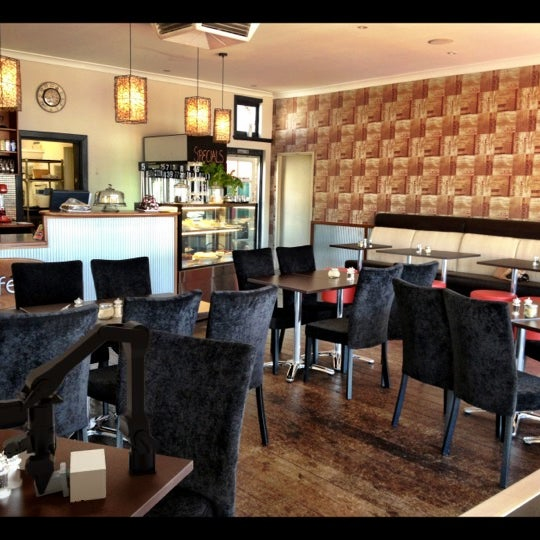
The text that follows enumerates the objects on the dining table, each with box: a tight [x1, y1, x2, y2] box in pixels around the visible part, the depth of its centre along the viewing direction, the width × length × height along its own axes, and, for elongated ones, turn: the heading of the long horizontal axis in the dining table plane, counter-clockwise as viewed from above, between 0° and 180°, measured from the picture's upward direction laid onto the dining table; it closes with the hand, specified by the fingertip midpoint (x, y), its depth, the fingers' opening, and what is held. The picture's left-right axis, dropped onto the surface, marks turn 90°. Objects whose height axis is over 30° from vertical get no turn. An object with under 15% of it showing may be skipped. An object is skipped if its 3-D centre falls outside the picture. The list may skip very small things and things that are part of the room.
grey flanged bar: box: [33, 461, 70, 498], centre depth 141 cm, size 13×6×6 cm, turn 108°
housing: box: [69, 448, 107, 503], centre depth 142 cm, size 8×12×7 cm, turn 18°
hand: (42, 485), depth 139 cm, fingers open, 9 cm apart
